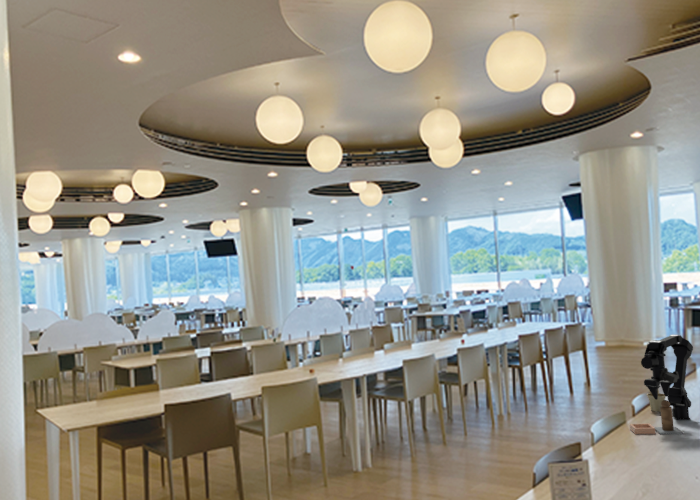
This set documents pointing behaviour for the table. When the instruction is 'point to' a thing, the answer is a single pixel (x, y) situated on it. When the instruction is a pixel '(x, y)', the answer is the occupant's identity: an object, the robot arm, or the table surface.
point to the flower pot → (656, 402)
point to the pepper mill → (666, 416)
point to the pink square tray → (642, 428)
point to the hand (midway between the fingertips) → (661, 397)
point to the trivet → (675, 431)
